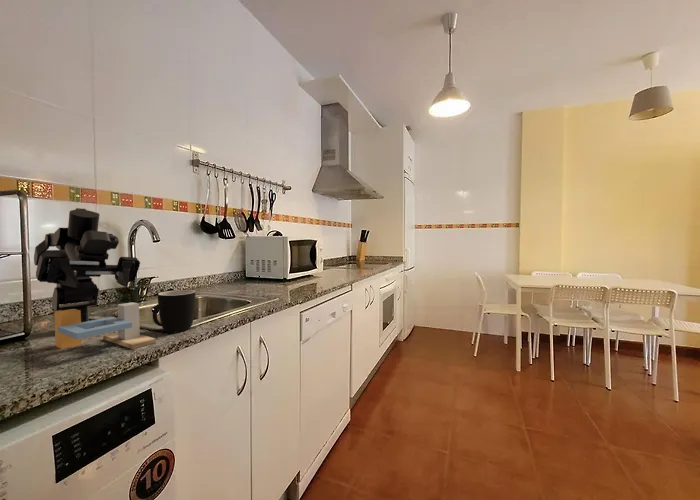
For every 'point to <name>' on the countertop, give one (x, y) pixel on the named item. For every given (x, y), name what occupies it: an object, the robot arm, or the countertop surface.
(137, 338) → the board
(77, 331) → the bracket
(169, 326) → the mug
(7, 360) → the countertop surface
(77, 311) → the orange square post
